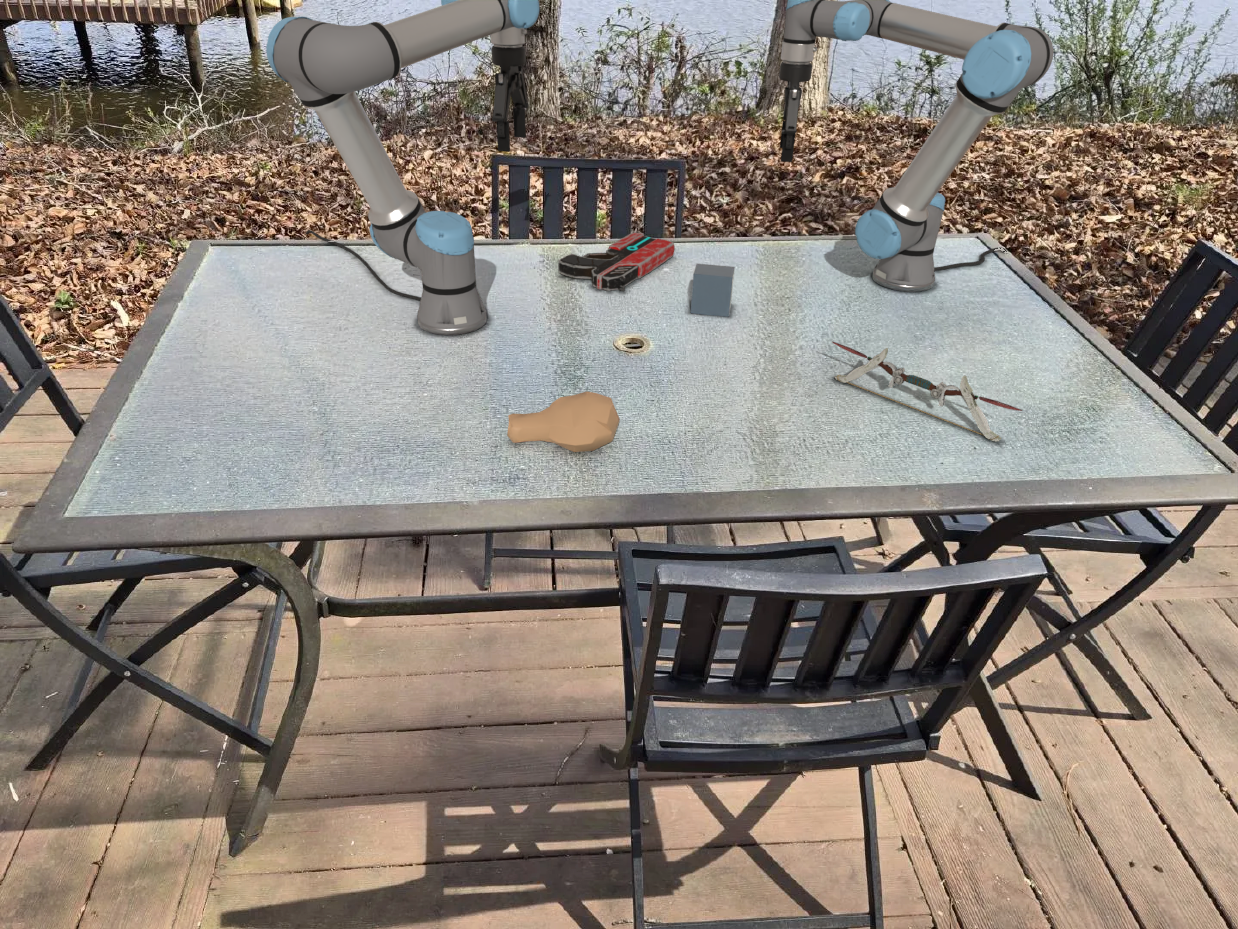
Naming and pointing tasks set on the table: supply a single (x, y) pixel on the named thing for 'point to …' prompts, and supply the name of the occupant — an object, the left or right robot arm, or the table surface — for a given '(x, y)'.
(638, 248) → the gun
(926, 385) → the bow
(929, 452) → the table surface
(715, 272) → the grey rectangular block
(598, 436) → the squash
